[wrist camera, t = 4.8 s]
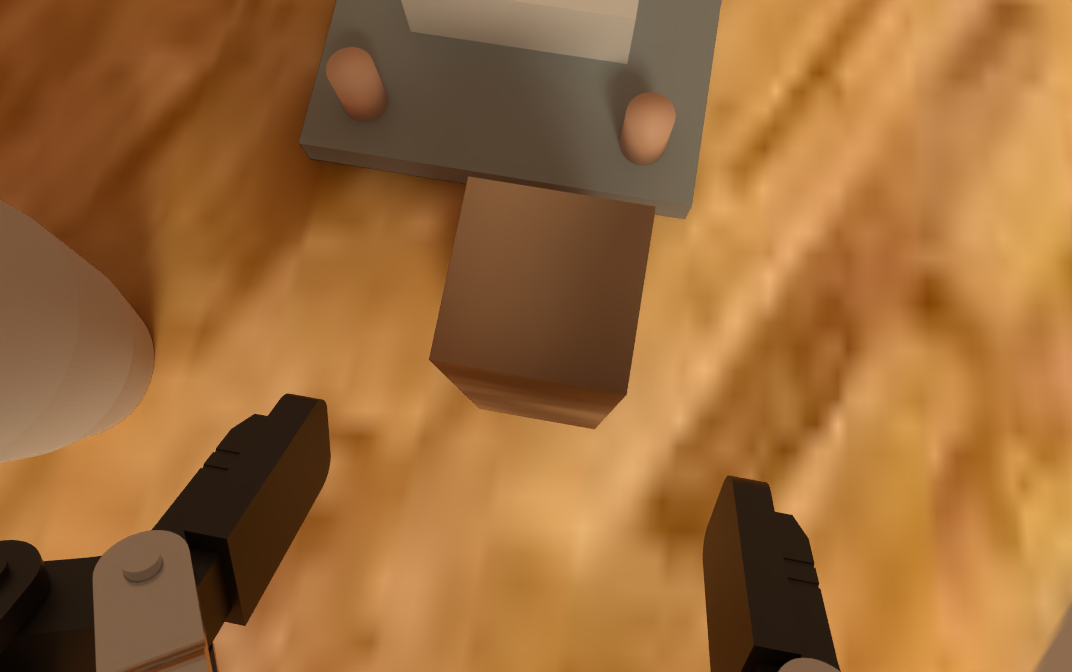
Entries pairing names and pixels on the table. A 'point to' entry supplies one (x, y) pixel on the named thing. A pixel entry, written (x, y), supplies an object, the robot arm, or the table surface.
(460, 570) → the table surface
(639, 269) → the brown block
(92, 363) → the cup
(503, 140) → the housing plate
